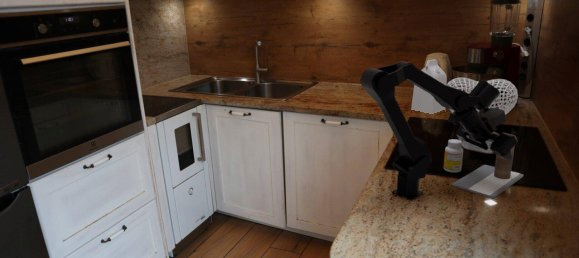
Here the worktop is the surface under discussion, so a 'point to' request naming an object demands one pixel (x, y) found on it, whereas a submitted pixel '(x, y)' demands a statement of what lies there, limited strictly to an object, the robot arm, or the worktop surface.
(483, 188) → the slate-grey panel
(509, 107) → the heart
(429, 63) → the milk
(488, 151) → the tin
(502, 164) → the beige tapered cylinder
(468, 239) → the worktop surface
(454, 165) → the supplement bottle
